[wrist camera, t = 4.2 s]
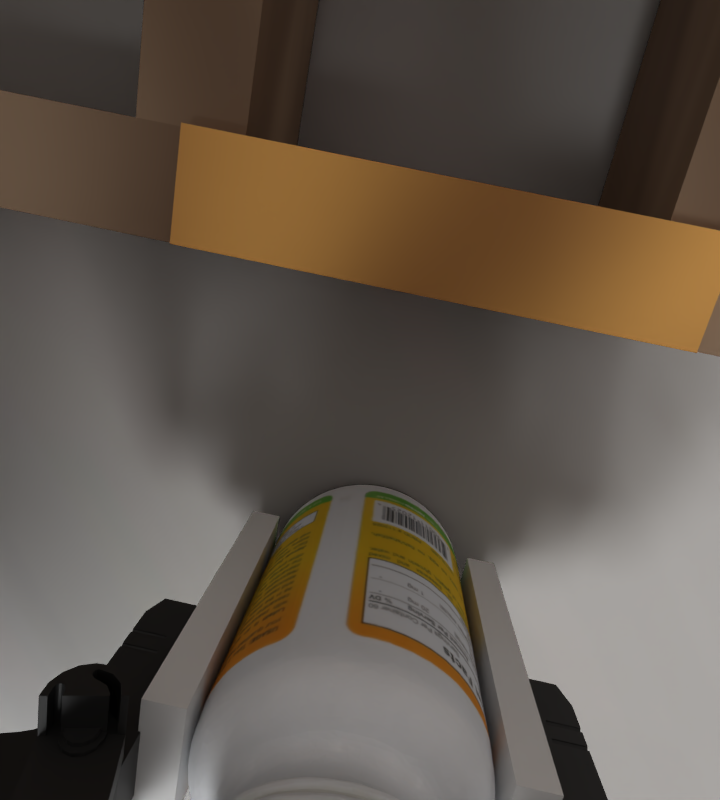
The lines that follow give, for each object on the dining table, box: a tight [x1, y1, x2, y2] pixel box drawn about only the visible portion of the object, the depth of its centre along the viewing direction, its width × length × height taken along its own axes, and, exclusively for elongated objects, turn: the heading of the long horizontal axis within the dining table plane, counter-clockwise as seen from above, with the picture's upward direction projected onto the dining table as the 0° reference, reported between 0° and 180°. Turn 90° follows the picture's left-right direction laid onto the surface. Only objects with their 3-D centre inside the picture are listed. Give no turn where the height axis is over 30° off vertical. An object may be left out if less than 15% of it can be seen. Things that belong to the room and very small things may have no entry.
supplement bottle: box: [188, 485, 495, 800], centre depth 11 cm, size 5×5×10 cm
